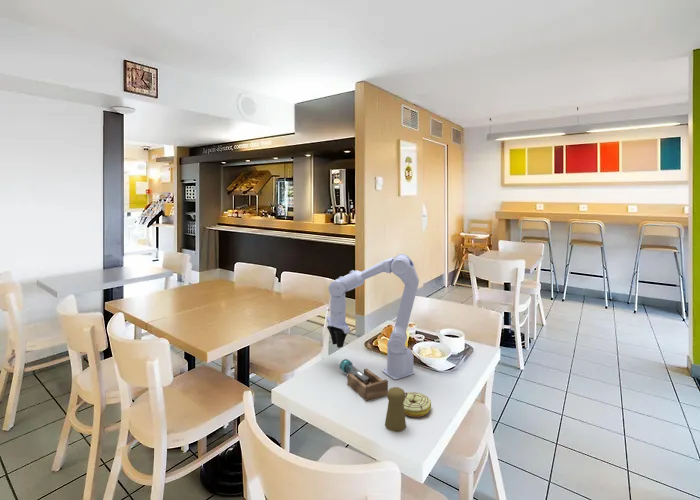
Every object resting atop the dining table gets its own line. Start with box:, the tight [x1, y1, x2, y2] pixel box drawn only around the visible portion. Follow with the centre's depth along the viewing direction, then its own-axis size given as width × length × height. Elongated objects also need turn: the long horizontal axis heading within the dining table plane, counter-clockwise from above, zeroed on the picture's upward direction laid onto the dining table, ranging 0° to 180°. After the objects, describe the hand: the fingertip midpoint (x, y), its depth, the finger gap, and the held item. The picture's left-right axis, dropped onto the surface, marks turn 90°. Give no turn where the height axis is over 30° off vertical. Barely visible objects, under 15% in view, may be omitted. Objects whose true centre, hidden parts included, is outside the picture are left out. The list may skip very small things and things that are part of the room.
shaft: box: [339, 358, 370, 385], centre depth 134 cm, size 14×4×4 cm, turn 31°
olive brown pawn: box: [384, 386, 407, 433], centre depth 108 cm, size 6×6×11 cm
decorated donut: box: [403, 391, 432, 418], centre depth 117 cm, size 10×11×4 cm
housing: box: [346, 368, 389, 403], centre depth 128 cm, size 13×8×5 cm, turn 31°
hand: (337, 345), depth 144 cm, fingers open, 3 cm apart
